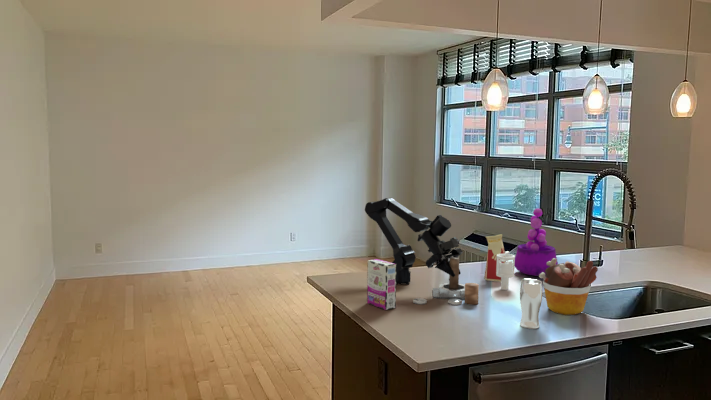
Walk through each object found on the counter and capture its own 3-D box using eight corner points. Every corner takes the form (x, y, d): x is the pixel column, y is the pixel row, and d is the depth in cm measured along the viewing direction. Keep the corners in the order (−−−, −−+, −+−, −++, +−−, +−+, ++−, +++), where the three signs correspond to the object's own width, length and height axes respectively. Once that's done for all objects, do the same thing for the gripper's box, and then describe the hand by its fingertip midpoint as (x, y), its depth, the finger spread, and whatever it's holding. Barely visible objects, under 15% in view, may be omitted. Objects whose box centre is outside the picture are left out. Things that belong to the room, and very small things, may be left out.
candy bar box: (396, 308, 202) (397, 263, 200) (386, 310, 199) (386, 265, 197) (376, 300, 210) (377, 258, 209) (366, 303, 207) (366, 259, 206)
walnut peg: (452, 292, 217) (453, 259, 215) (447, 290, 220) (448, 257, 218) (460, 291, 218) (461, 259, 216) (455, 289, 221) (455, 257, 220)
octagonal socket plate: (433, 298, 214) (433, 290, 214) (432, 289, 226) (432, 282, 226) (475, 299, 212) (476, 291, 212) (473, 291, 224) (473, 283, 224)
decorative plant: (560, 280, 240) (564, 211, 237) (516, 278, 243) (518, 210, 240) (553, 270, 259) (556, 206, 255) (511, 268, 262) (514, 205, 258)
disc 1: (413, 304, 207) (413, 301, 207) (413, 301, 212) (413, 297, 211) (426, 305, 206) (426, 302, 206) (426, 301, 211) (426, 298, 211)
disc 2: (448, 305, 206) (448, 302, 206) (447, 301, 211) (448, 298, 211) (462, 306, 205) (462, 302, 205) (461, 302, 210) (461, 299, 210)
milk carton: (506, 277, 246) (507, 232, 244) (504, 282, 238) (506, 235, 235) (485, 275, 249) (486, 231, 247) (482, 280, 241) (484, 234, 238)
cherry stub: (464, 304, 206) (465, 286, 205) (464, 300, 211) (464, 282, 210) (478, 305, 206) (479, 286, 205) (477, 301, 211) (478, 283, 210)
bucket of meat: (528, 306, 204) (530, 253, 202) (559, 300, 212) (561, 248, 210) (574, 322, 187) (577, 264, 184) (606, 314, 195) (609, 259, 193)
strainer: (515, 287, 229) (516, 252, 227) (511, 292, 223) (512, 255, 221) (498, 285, 232) (499, 250, 230) (493, 289, 226) (494, 253, 224)
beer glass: (515, 322, 187) (517, 278, 185) (535, 322, 187) (537, 278, 186) (523, 329, 180) (525, 284, 178) (544, 329, 181) (546, 283, 179)
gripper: (433, 234, 212) (457, 267, 206) (459, 228, 226) (482, 259, 220) (415, 251, 218) (438, 284, 212) (442, 244, 232) (464, 275, 226)
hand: (457, 275), depth 217 cm, fingers closed on walnut peg, 4 cm apart
